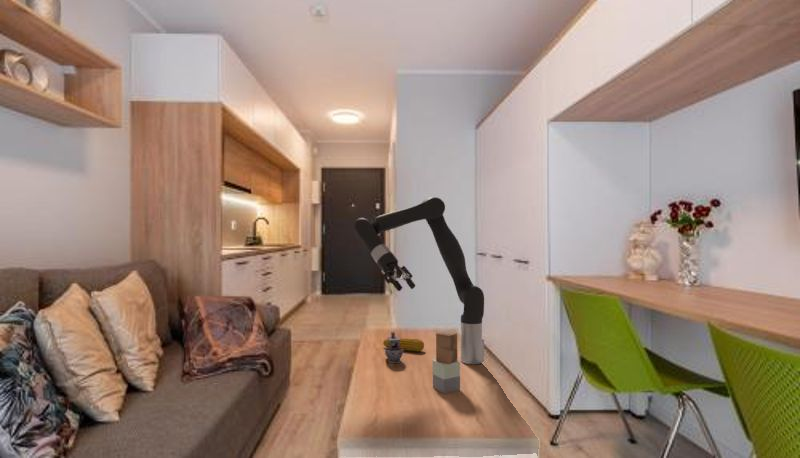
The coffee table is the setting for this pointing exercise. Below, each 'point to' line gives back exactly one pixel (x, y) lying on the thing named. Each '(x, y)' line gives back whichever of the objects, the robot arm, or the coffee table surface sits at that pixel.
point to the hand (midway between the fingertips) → (407, 288)
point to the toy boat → (394, 349)
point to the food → (408, 344)
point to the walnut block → (446, 347)
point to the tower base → (446, 384)
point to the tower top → (446, 369)
